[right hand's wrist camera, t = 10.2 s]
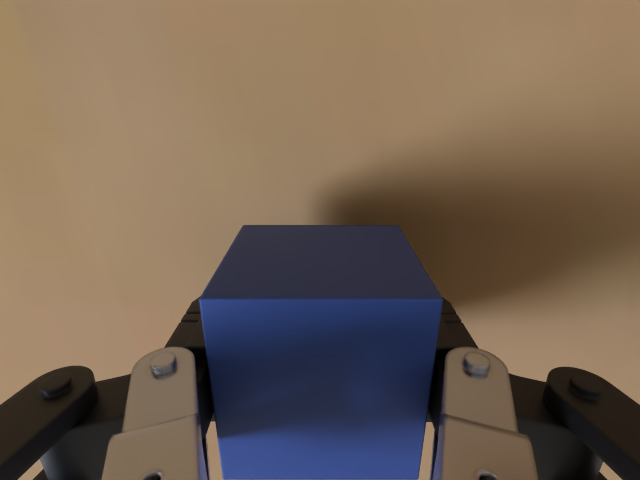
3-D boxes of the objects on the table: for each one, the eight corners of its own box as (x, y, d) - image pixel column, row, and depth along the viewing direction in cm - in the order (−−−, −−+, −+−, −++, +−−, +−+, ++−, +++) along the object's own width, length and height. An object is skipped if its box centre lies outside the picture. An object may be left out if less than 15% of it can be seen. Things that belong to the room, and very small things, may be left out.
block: (398, 224, 12) (444, 299, 7) (387, 359, 13) (419, 480, 9) (242, 224, 12) (197, 299, 7) (253, 359, 13) (222, 480, 9)
